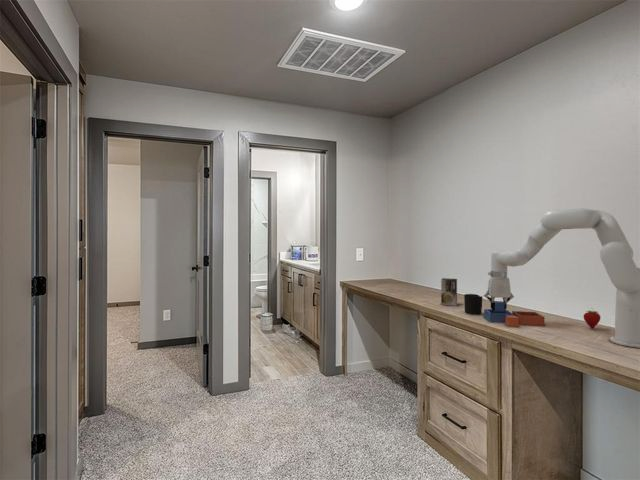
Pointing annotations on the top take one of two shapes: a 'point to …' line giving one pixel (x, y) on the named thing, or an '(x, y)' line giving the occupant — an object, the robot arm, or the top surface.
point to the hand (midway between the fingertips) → (498, 309)
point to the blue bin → (496, 315)
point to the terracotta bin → (529, 318)
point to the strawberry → (592, 318)
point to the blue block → (499, 306)
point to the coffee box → (449, 291)
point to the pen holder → (473, 304)
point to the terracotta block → (511, 321)
